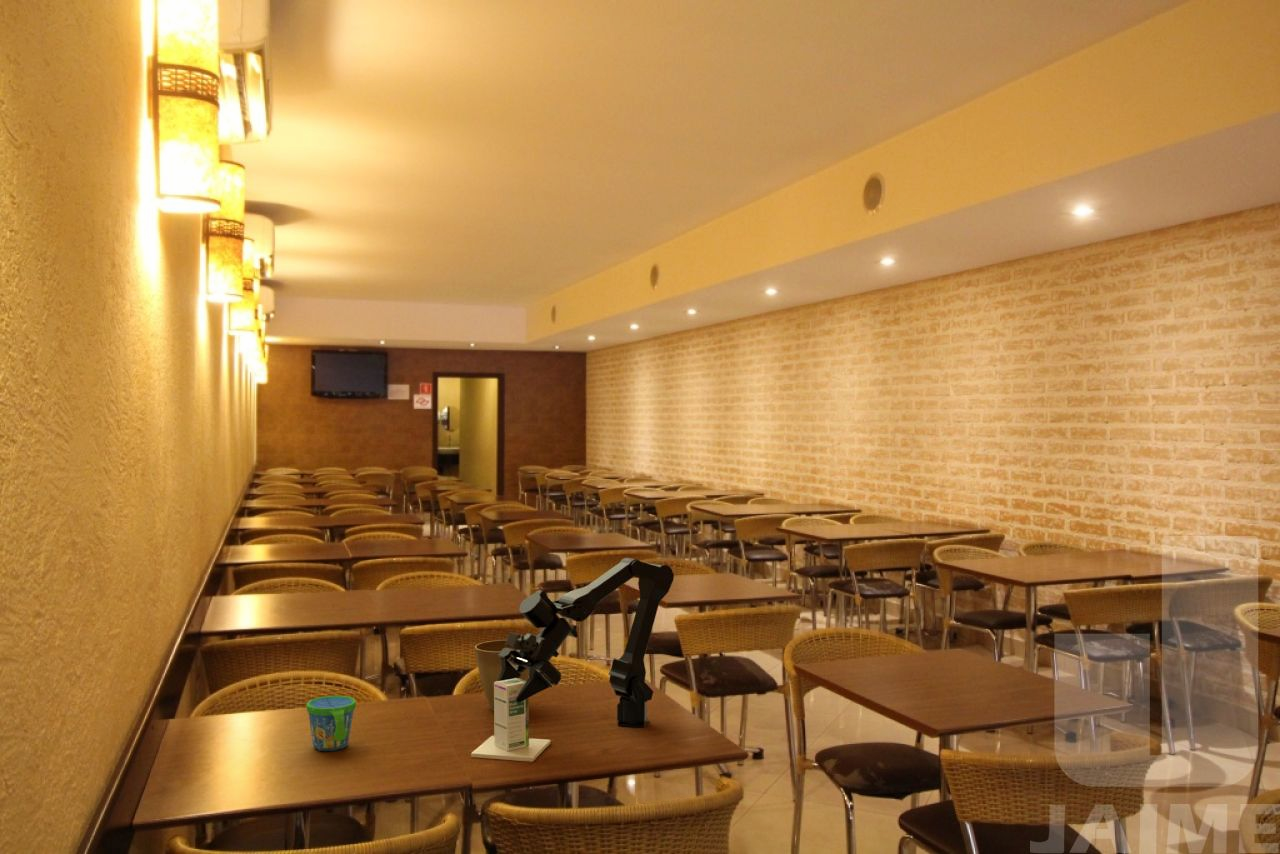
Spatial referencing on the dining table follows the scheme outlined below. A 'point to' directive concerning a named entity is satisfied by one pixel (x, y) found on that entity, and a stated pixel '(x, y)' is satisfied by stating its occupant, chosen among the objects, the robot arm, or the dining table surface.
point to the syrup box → (510, 715)
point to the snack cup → (331, 721)
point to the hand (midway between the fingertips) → (506, 696)
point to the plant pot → (492, 666)
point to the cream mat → (519, 754)
